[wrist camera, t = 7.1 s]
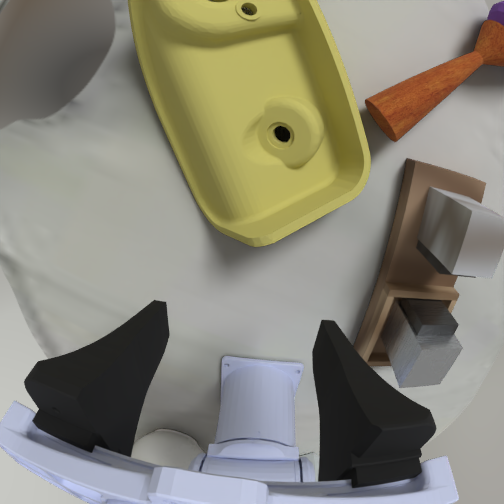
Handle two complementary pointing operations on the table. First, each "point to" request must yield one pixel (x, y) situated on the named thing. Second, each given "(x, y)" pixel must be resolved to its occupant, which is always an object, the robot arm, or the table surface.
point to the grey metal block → (420, 341)
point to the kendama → (436, 81)
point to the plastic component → (253, 110)
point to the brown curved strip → (166, 448)
